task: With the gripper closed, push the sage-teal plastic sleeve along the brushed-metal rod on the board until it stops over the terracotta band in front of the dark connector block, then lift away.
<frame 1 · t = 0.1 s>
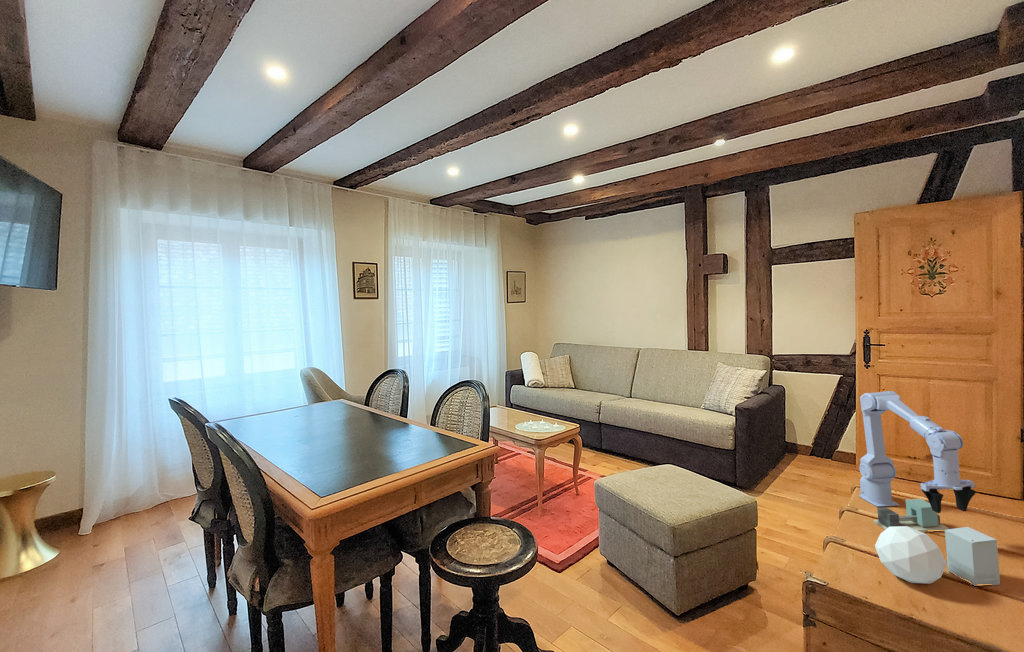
hand: (949, 510, 134), 10 cm above the table, tool pointing down, fingers open, 7 cm apart
geometric sphere: (910, 578, 120), on the table
supplement box: (973, 578, 118), on the table
sleeve: (921, 512, 144), point 5 cm above the table, slide at 0.0 cm
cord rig: (910, 526, 144), on the table
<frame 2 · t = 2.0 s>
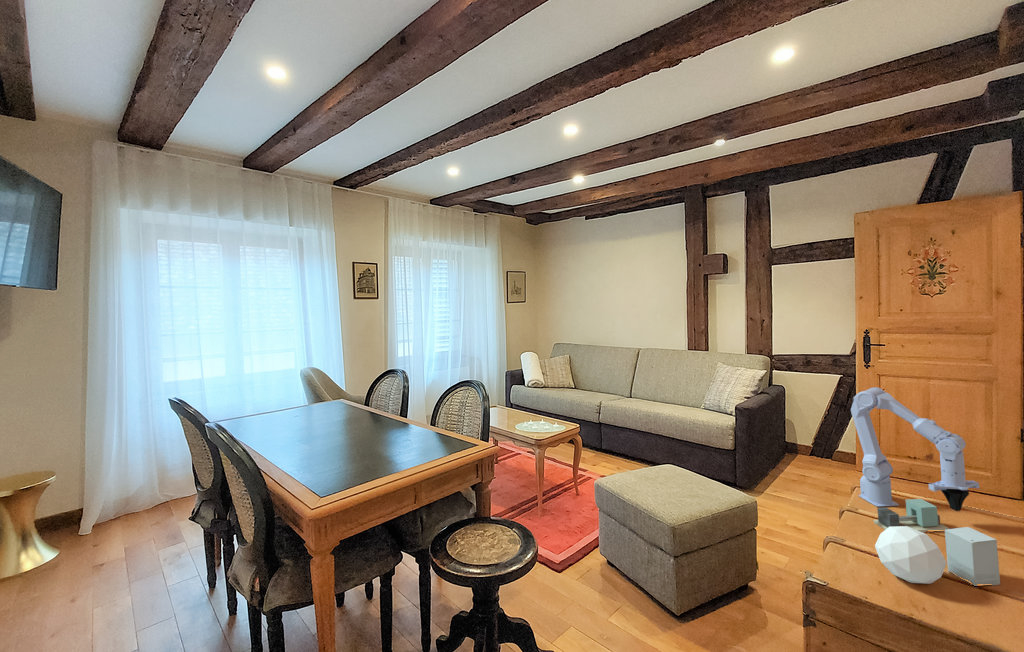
hand: (955, 509, 143), 5 cm above the table, tool pointing down, fingers closed
nothing on the table moved.
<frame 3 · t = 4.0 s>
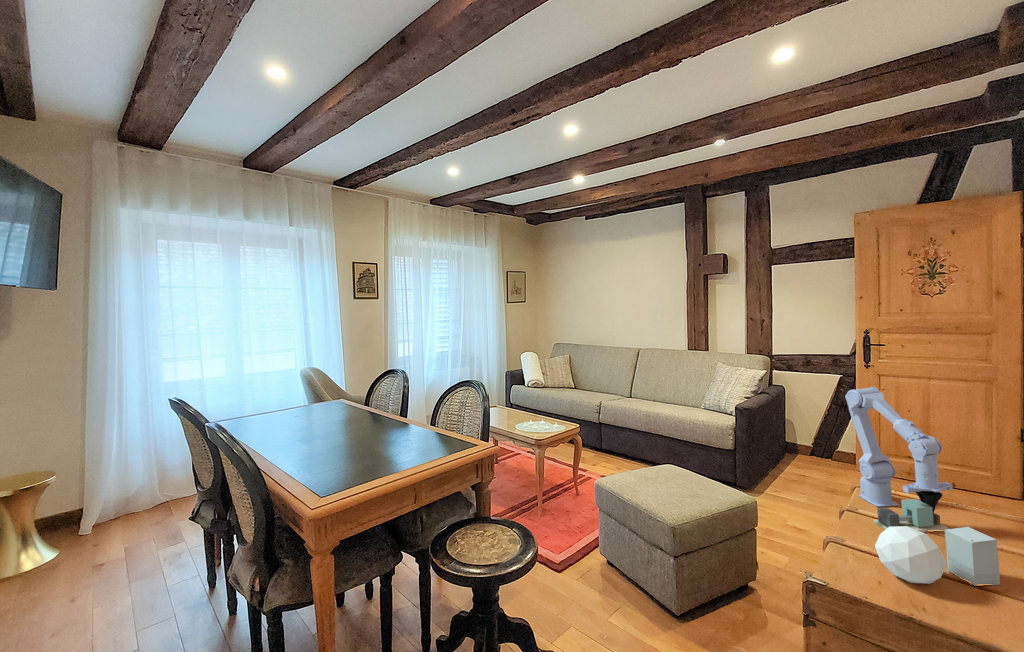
hand: (929, 511, 144), 5 cm above the table, tool pointing down, fingers closed
sleeve: (917, 512, 144), point 5 cm above the table, slide at 1.5 cm, touching gripper
everything else where it was.
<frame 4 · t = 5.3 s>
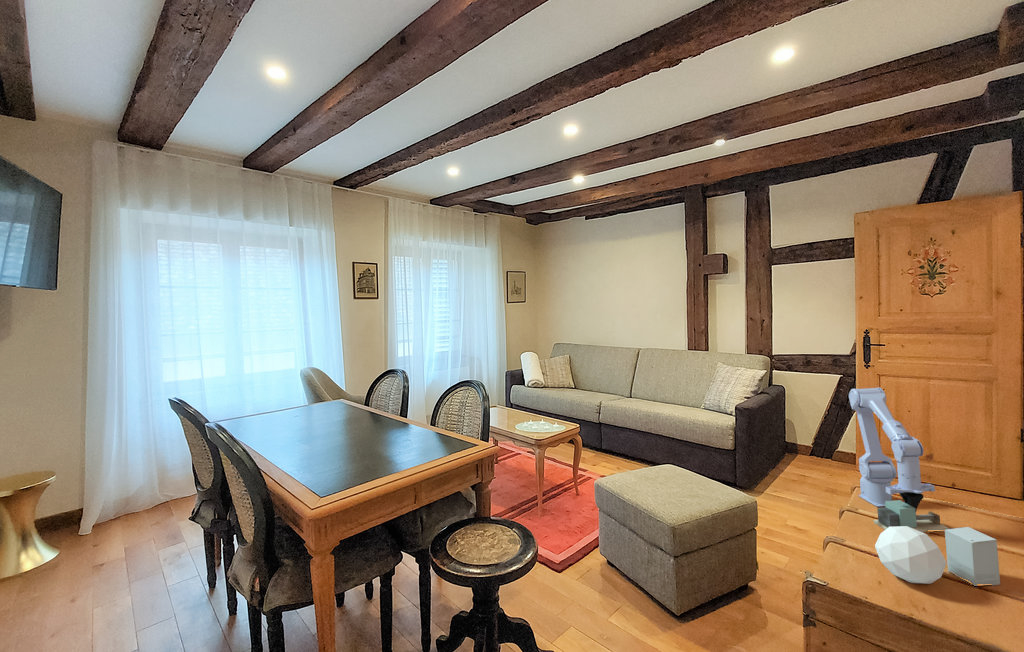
hand: (911, 512, 144), 5 cm above the table, tool pointing down, fingers closed
sleeve: (900, 513, 144), point 5 cm above the table, slide at 6.9 cm, touching gripper
everything else where it was.
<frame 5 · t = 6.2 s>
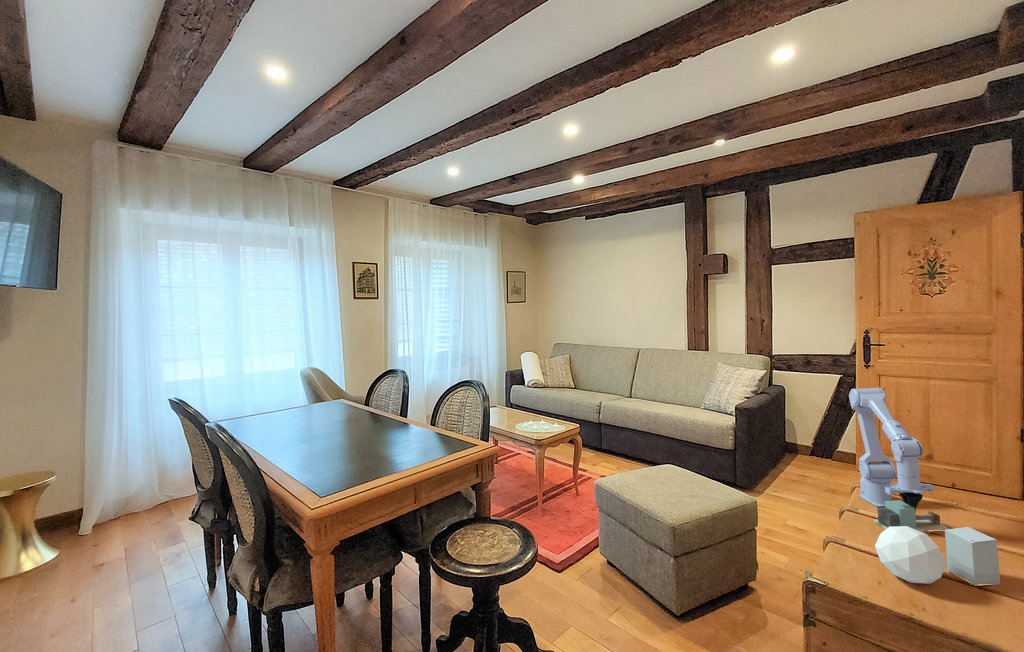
hand: (911, 512, 144), 5 cm above the table, tool pointing down, fingers closed
nothing on the table moved.
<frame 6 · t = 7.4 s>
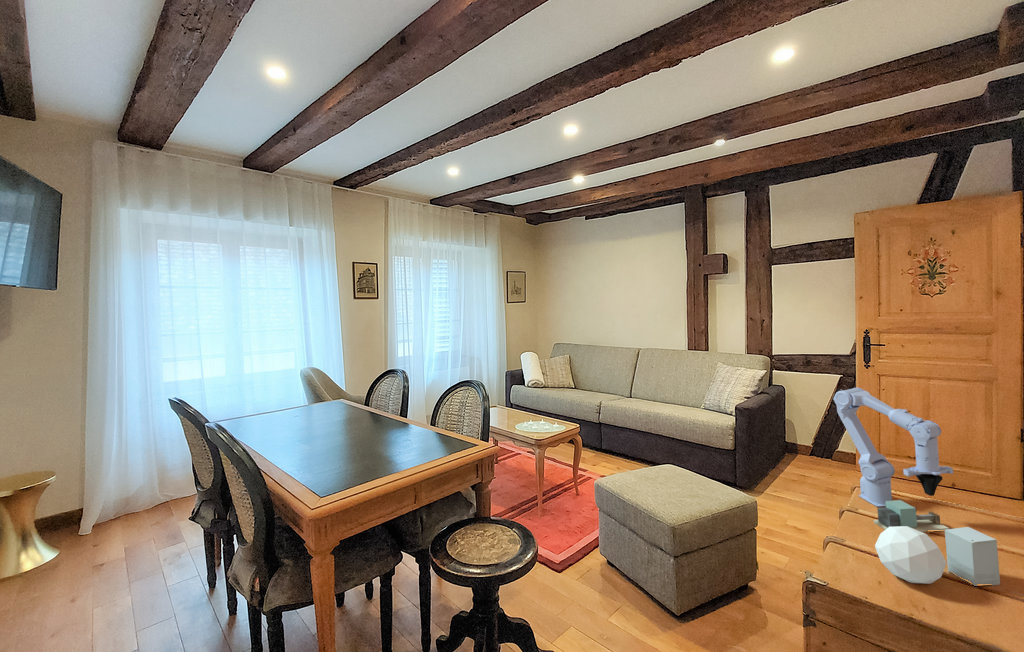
hand: (929, 494, 146), 9 cm above the table, tool pointing down, fingers closed
sleeve: (900, 513, 144), point 5 cm above the table, slide at 6.7 cm
everything else where it was.
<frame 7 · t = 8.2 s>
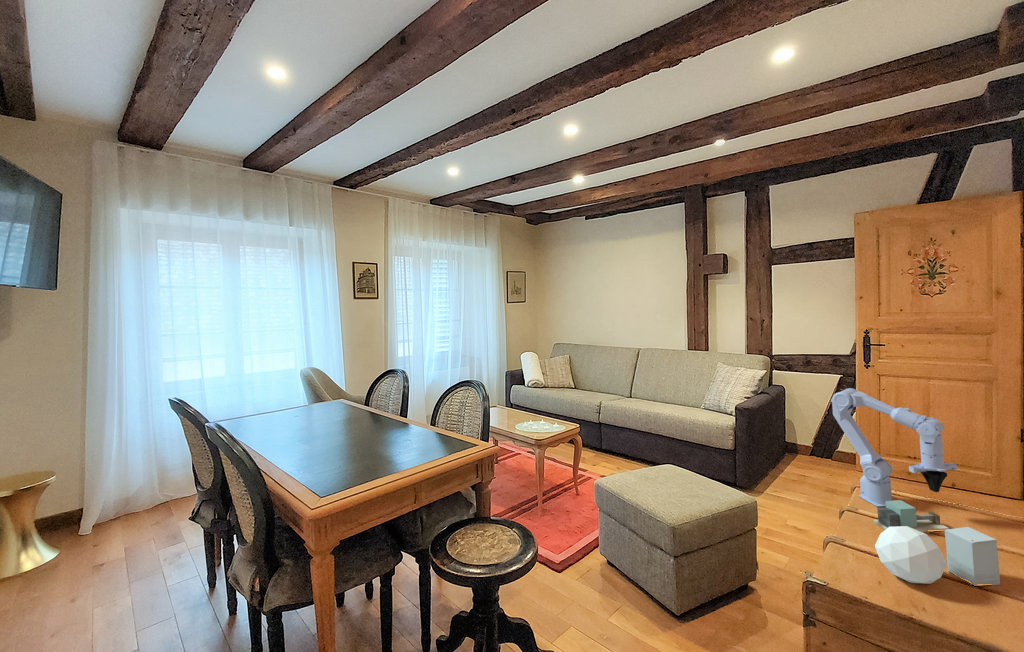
hand: (934, 490, 148), 9 cm above the table, tool pointing down, fingers closed
nothing on the table moved.
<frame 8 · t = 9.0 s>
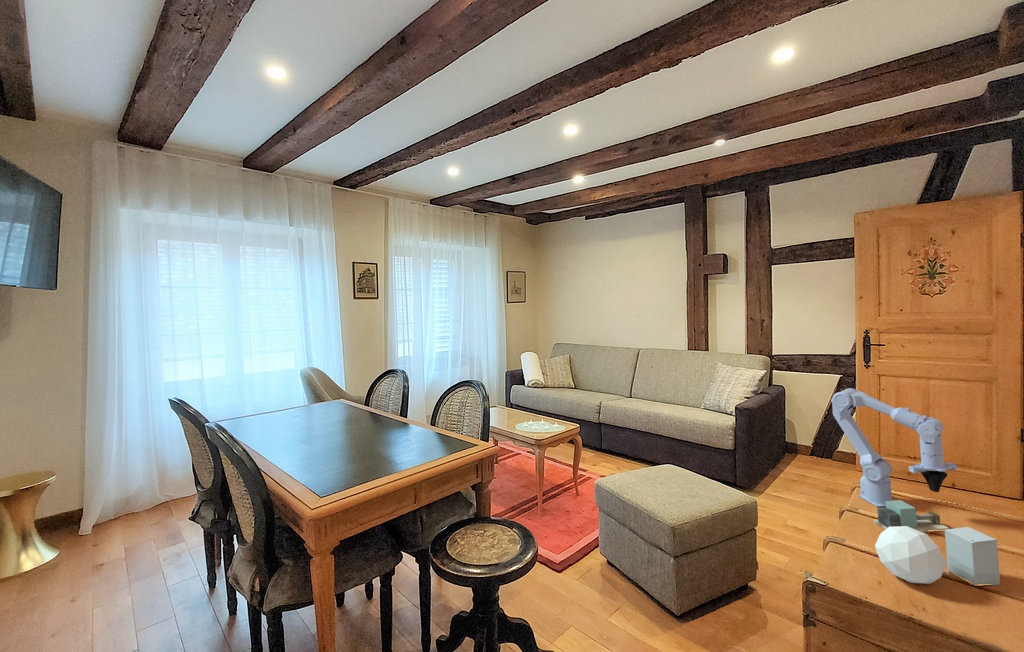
hand: (934, 490, 148), 9 cm above the table, tool pointing down, fingers closed
nothing on the table moved.
at the end: sleeve slide at 6.7 cm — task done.
